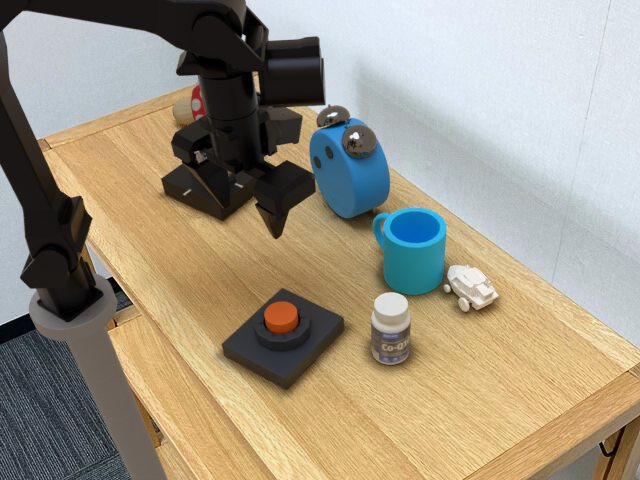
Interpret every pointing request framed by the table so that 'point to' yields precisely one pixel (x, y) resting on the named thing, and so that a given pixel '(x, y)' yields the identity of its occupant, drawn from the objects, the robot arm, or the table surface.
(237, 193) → the base
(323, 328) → the button box
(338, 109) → the alarm clock
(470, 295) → the toy car
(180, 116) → the decorative mushroom
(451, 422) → the table surface
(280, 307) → the button
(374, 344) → the pill bottle
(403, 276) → the mug
